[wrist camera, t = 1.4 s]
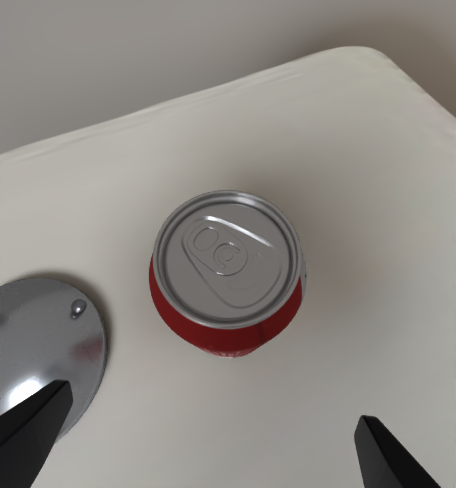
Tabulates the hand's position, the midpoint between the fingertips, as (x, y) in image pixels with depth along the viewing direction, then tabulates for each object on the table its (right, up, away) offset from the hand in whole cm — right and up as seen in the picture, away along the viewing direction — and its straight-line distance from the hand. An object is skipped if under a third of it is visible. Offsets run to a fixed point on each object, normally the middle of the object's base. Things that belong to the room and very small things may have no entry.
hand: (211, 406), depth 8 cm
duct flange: (-14, -4, +11) cm, 18 cm away
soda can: (+1, 0, +13) cm, 13 cm away
